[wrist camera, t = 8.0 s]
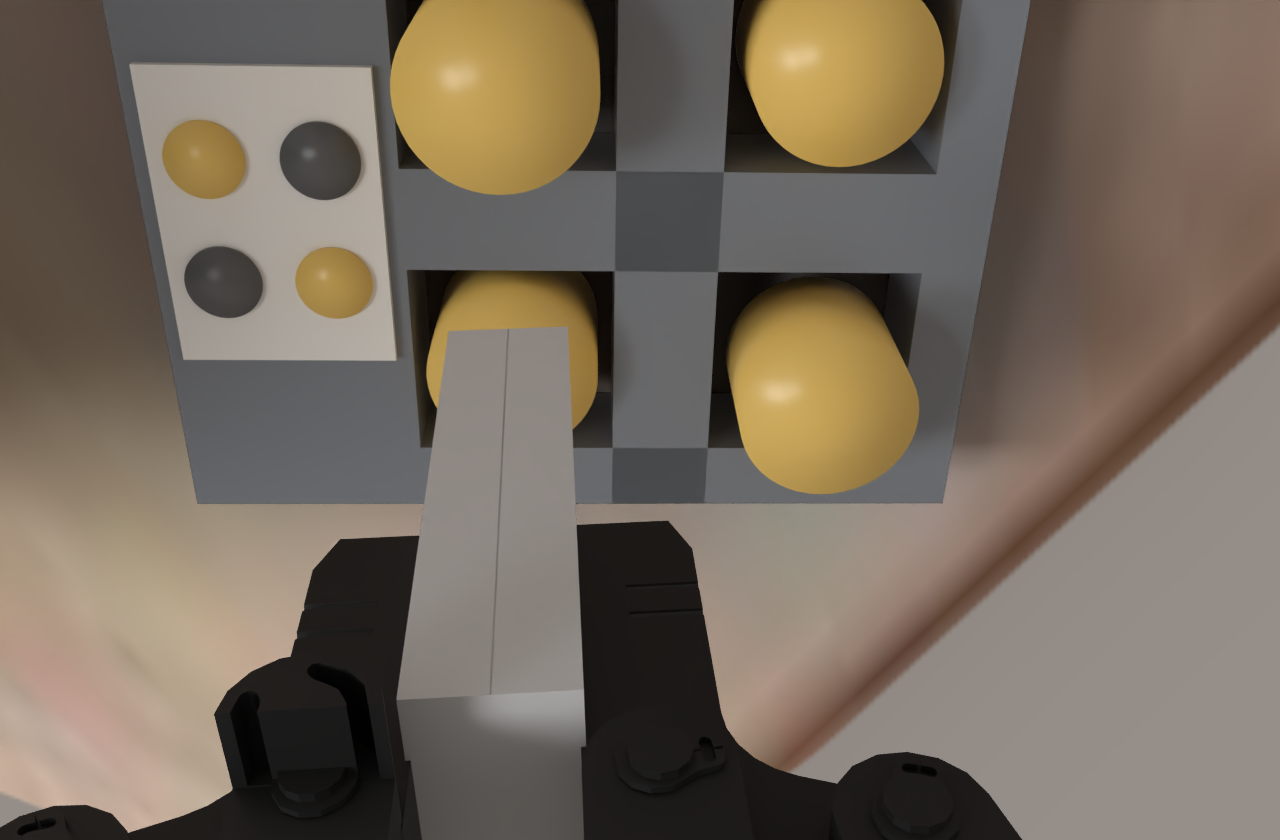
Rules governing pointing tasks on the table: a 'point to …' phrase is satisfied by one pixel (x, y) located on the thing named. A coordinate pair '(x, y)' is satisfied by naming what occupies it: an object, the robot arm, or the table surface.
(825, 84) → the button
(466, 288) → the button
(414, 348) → the board
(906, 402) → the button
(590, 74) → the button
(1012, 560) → the table surface
